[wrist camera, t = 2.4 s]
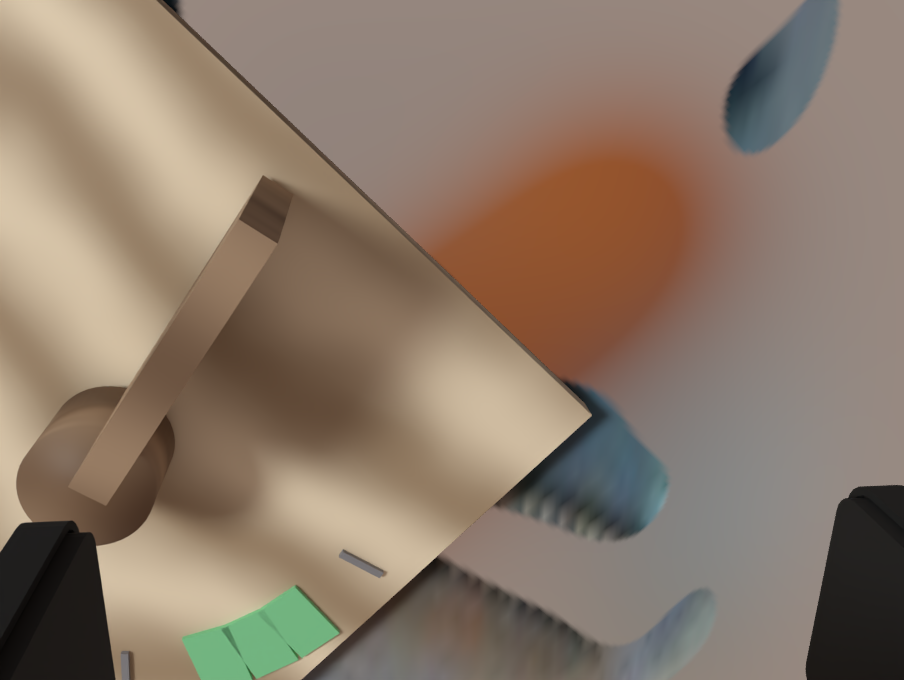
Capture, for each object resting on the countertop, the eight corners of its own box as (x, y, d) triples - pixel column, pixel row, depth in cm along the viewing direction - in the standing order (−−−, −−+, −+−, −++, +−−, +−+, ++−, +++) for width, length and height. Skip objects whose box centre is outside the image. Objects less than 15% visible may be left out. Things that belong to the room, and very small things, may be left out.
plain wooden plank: (221, 148, 29) (184, 185, 22) (332, 220, 30) (328, 275, 23) (-90, 650, 34) (-194, 800, 27) (16, 693, 35) (-60, 846, 29)
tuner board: (51, -107, 27) (35, -114, 25) (584, 403, 35) (593, 417, 34) (-396, 442, 31) (-429, 460, 30) (173, 778, 40) (167, 803, 38)
